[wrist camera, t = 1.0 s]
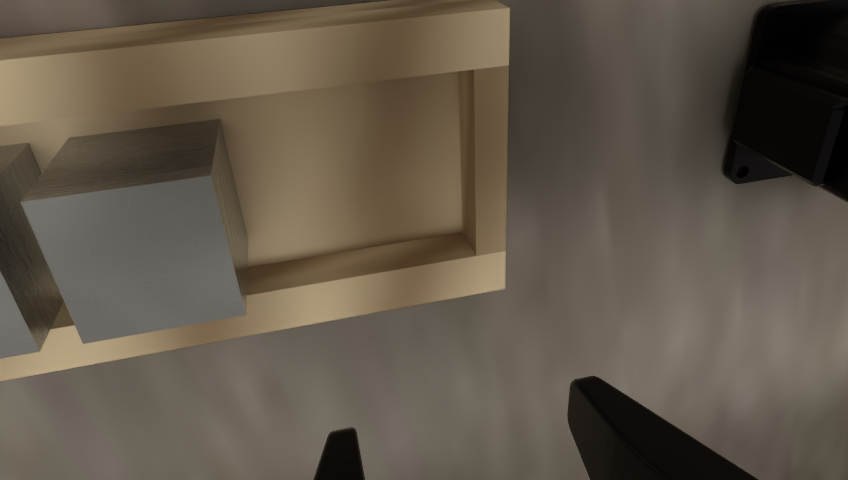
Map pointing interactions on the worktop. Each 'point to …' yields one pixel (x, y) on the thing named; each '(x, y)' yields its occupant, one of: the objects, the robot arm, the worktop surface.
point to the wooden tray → (299, 150)
